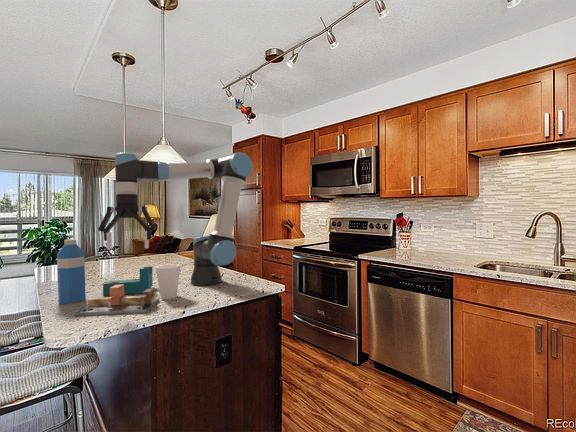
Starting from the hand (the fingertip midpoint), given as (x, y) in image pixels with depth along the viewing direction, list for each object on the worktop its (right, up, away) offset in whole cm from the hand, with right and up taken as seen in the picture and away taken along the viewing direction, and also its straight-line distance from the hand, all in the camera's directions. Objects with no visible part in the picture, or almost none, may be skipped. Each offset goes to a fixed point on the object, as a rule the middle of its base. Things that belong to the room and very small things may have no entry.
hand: (128, 248), depth 120 cm
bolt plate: (-1, -22, -4) cm, 22 cm away
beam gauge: (-1, -21, -5) cm, 21 cm away
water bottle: (-27, -22, +8) cm, 36 cm away
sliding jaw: (-2, -20, -5) cm, 21 cm away
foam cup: (+12, -21, +10) cm, 26 cm away
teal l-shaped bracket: (-10, -22, +20) cm, 31 cm away
